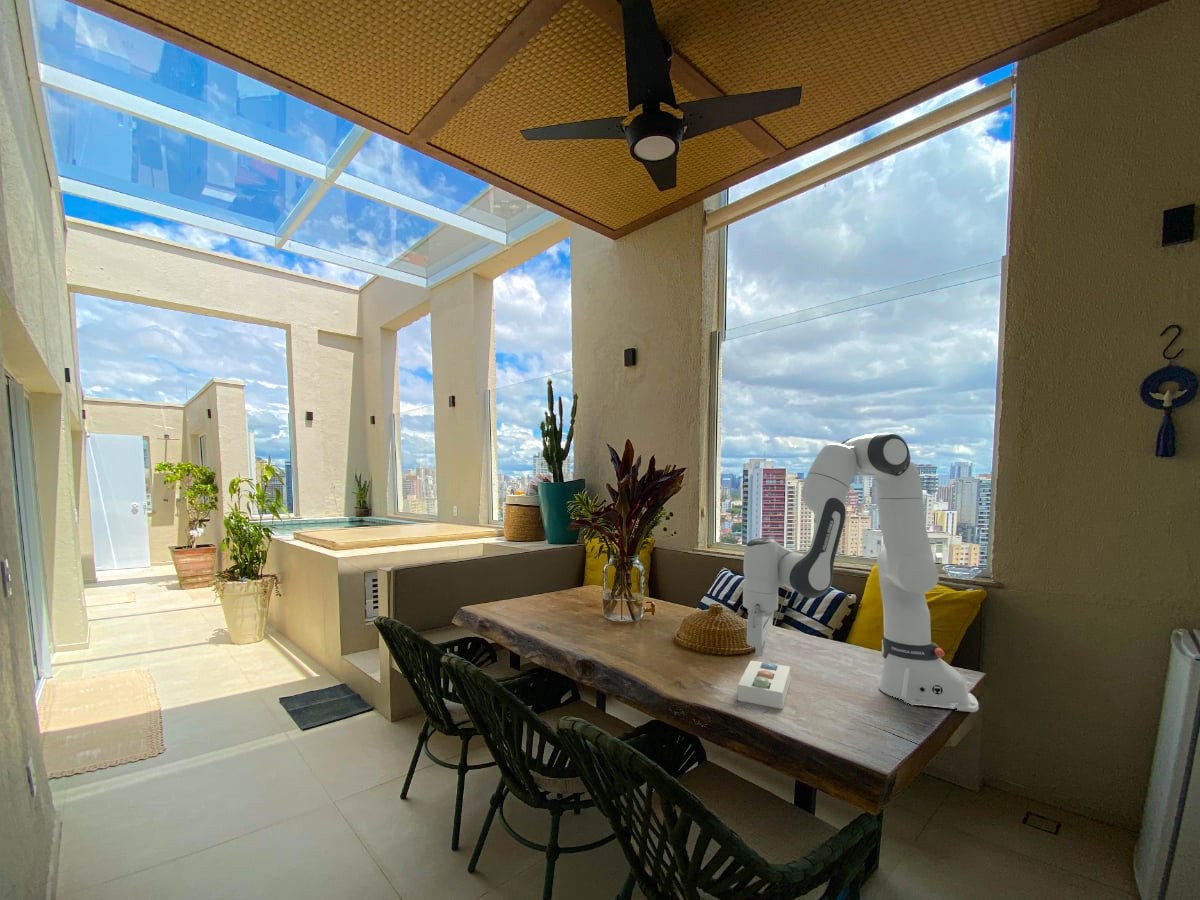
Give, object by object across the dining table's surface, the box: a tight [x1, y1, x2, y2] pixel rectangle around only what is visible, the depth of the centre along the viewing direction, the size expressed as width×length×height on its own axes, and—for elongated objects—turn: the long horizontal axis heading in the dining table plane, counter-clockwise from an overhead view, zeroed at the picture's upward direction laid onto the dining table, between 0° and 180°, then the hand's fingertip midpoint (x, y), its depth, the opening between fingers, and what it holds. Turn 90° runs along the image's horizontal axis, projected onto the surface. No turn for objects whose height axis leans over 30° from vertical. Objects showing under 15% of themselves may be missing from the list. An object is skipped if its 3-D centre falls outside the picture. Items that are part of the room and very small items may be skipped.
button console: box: [737, 660, 792, 710], centre depth 139 cm, size 11×20×4 cm, turn 154°
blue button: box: [762, 661, 776, 678], centre depth 145 cm, size 4×4×3 cm
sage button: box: [754, 677, 769, 689], centre depth 133 cm, size 4×4×3 cm
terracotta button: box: [758, 670, 772, 687], centre depth 139 cm, size 4×4×3 cm
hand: (759, 654), depth 133 cm, fingers closed
